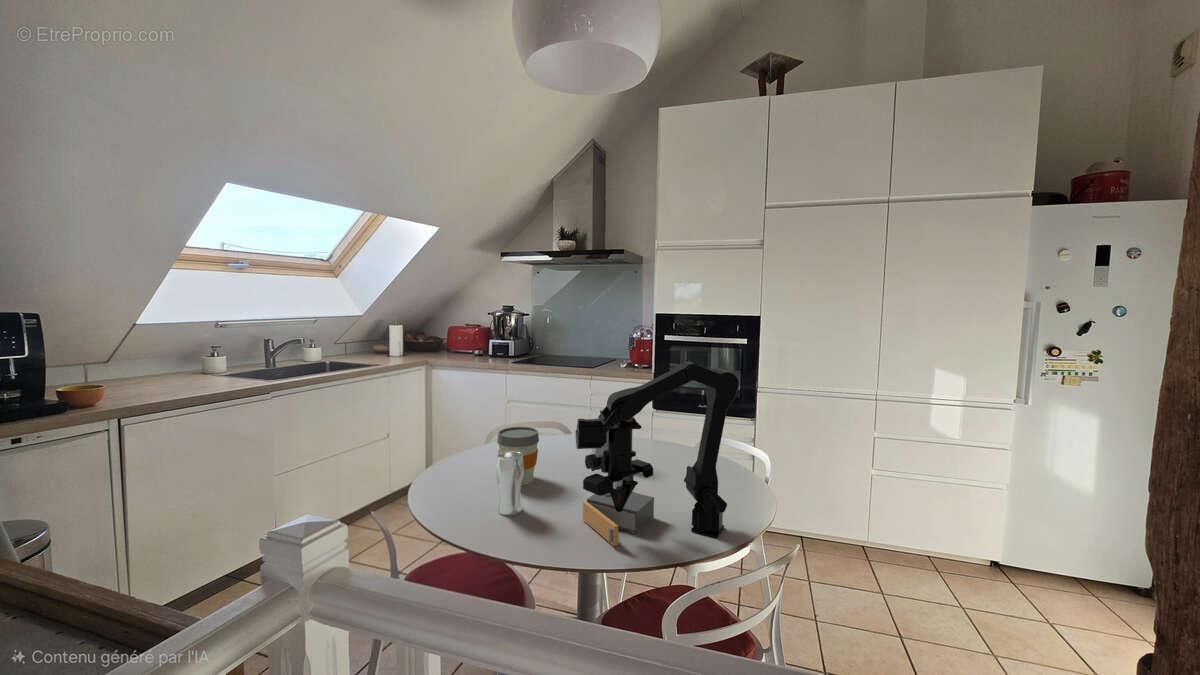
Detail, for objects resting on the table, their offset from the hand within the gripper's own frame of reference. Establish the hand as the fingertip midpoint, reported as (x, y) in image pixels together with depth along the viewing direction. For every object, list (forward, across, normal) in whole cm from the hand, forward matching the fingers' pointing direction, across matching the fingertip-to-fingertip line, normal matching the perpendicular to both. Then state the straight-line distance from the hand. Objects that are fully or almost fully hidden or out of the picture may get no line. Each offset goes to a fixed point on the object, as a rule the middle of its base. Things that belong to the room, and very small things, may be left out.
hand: (618, 511), depth 116 cm
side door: (+6, +3, -4) cm, 7 cm away
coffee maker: (+6, -34, -38) cm, 51 cm away
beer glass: (+6, +11, -29) cm, 31 cm away
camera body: (+6, -7, -6) cm, 11 cm away
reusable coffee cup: (+6, -4, -45) cm, 46 cm away
